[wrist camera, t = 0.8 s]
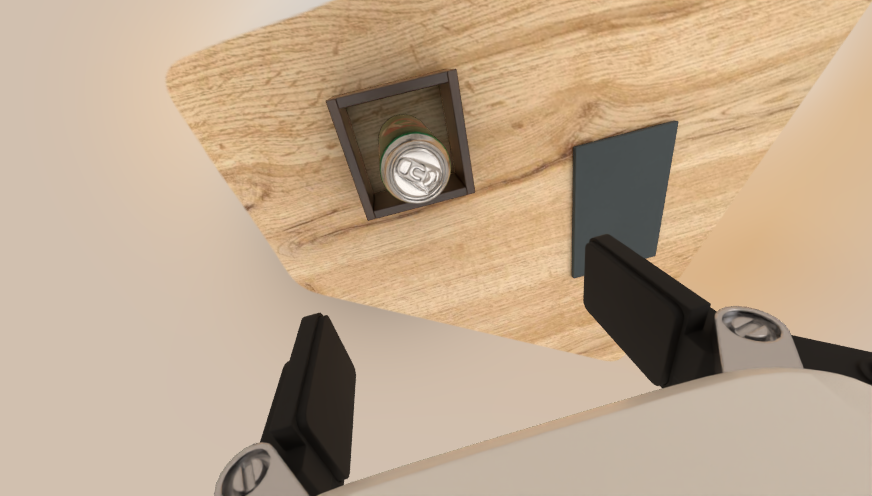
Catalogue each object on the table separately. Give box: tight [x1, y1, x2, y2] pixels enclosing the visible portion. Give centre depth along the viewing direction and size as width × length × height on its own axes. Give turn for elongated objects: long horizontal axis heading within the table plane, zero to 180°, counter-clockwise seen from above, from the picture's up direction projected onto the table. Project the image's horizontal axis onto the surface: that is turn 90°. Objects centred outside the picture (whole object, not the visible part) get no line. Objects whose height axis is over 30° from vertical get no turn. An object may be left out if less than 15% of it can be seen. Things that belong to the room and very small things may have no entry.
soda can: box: [378, 114, 451, 204], centre depth 27 cm, size 5×5×12 cm
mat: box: [572, 121, 678, 278], centre depth 40 cm, size 18×12×1 cm, turn 12°
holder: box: [326, 69, 475, 221], centre depth 30 cm, size 11×11×5 cm
